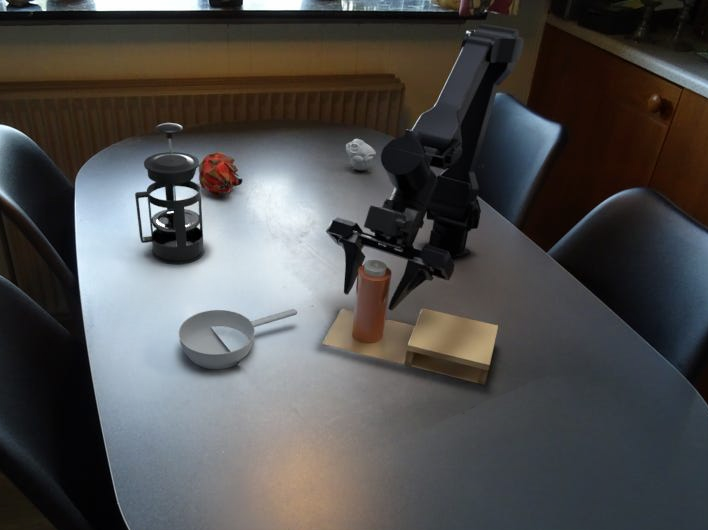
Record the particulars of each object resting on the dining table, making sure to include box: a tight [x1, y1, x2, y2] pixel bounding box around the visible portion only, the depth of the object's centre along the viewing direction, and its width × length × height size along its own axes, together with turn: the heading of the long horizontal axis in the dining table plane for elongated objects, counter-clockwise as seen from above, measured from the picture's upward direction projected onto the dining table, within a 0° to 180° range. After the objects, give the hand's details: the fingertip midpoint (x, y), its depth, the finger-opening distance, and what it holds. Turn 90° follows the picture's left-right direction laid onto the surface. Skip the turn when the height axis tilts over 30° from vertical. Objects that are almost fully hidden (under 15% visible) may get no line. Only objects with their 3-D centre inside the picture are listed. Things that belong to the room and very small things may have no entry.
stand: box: [322, 307, 499, 385], centre depth 100 cm, size 24×10×4 cm, turn 71°
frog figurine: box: [345, 138, 377, 172], centre depth 155 cm, size 6×7×7 cm
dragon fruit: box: [197, 151, 244, 198], centre depth 141 cm, size 8×8×12 cm
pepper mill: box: [352, 259, 393, 343], centre depth 99 cm, size 5×5×12 cm
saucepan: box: [178, 308, 298, 370], centre depth 99 cm, size 11×18×4 cm, turn 118°
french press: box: [134, 122, 206, 265], centre depth 114 cm, size 12×9×23 cm
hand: (367, 301), depth 97 cm, fingers open, 7 cm apart
